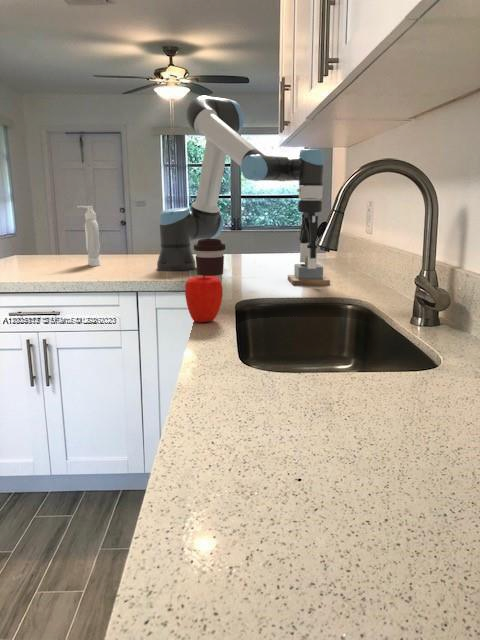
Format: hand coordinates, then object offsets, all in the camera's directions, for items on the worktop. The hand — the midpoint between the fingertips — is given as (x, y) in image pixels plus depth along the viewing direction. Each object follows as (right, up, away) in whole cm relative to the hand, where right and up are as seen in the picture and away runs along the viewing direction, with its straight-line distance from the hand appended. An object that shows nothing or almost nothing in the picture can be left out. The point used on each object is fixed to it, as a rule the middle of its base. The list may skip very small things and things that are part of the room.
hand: (307, 265), depth 168 cm
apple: (-31, -19, -50) cm, 61 cm away
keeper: (0, -5, +1) cm, 6 cm away
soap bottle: (-85, +5, +45) cm, 97 cm away
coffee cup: (-32, -8, -6) cm, 34 cm away
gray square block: (0, -4, +1) cm, 4 cm away
